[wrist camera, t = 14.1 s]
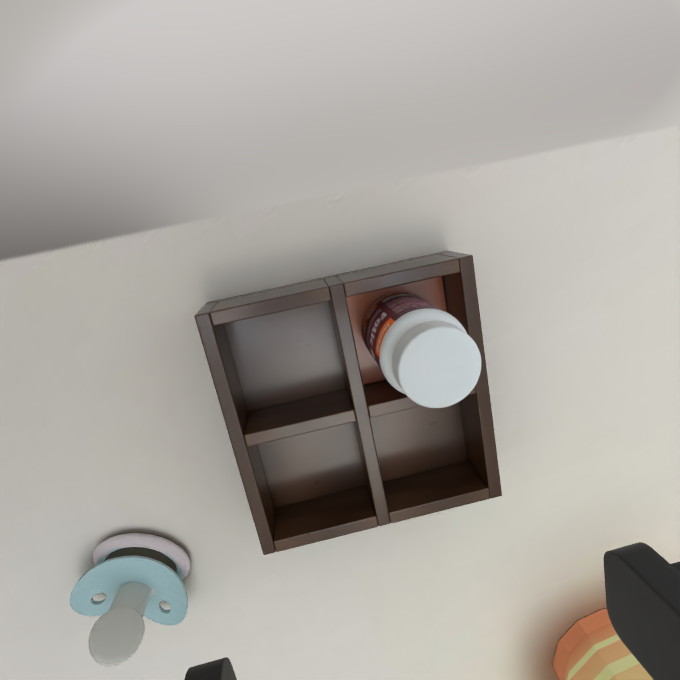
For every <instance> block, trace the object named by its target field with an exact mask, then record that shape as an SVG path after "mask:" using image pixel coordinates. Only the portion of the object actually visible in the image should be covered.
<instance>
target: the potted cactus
mask: <svg viewBox="0 0 680 680" xmlns="http://www.w3.org/2000/svg"><path fill="white" fill-rule="evenodd" d="M553 666H554V669H555V671H556V674H557V676H558V679H559V680H653V679H652V677H651V676H650V675H649V674H648V672H647V671H646V670H645V669H644V668H643V666H642V665H641V664H640V663H639V662H638V660H637V659H636V658H635V657H634V656H633V654H632V653H631V652H630V651H629V649H628V648H627V647H626V646H625V645H624V643H623V642H622V641H621V639H620V638H619V636H618V635H617V633H616V631H615V630H614V628H613V626H612V623H611V621H610V618H609V615H608V612H607V609H602V610H599V611H597V612H595V613H593V614H591V615H589V616H586V617H584V618H582V619H580V620H578V621H576V623H575V624H574V625H573V626H572V627H571V628H570V629H569V630H568V631H567V632H566V634H565V635H564V636H563V637H562V638H561V639H560V640H559V641H558V645H557V649H556V653H555V657H554V660H553Z"/></svg>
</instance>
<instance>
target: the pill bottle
mask: <svg viewBox="0 0 680 680" xmlns="http://www.w3.org/2000/svg"><path fill="white" fill-rule="evenodd" d="M362 335H363V340H364V343H365V345H366V347H367V349H368V351H369V352H370V354H371V355H372V357H373V358H374V360H375V362H376V364H377V365H378V367H379V368H380V370H381V372H382V373H383V375H384V377H385V378H386V380H387V381H388V382H389V383H390V384H391V386H393V387H394V388H395V389H396V390H398V391H400V392H402V393H404V394H406V395H407V396H408V397H409V398H410V399H411V400H412V401H414V402H415V403H417V404H419V405H422V406H425V407H429V408H443V407H448V406H451V405H453V404H456V403H457V402H459V401H461V400H462V399H464V398H465V397H466V396H467V395H468V394H469V393H470V392H471V391H472V390H473V388H474V387H475V385H476V383H477V381H478V379H479V376H480V372H481V355H480V352H479V349H478V347H477V345H476V343H475V342H474V340H473V339H472V338H471V337H470V336H469V335H468V334H467V332H466V330H465V329H464V327H463V326H462V324H461V323H460V322H459V321H458V320H457V319H456V318H455V317H453V316H452V315H451V314H449V313H447V312H445V311H443V310H441V309H440V308H438V307H437V306H435V305H433V304H431V303H429V302H428V301H426V300H424V299H423V298H421V297H419V296H417V295H414V294H411V293H408V292H395V293H390V294H387V295H385V296H383V297H381V298H379V299H378V300H377V301H376V302H375V303H373V305H372V306H371V307H370V308H369V309H368V311H367V313H366V315H365V317H364V320H363V325H362Z"/></svg>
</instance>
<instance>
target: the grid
mask: <svg viewBox="0 0 680 680" xmlns="http://www.w3.org/2000/svg"><path fill="white" fill-rule="evenodd" d="M395 292H408V293H411V294H414V295H417V296H419V297H421V298H423V299H424V300H426V301H428V302H429V303H431V304H433V305H435V306H437V307H438V308H440V309H441V310H443V311H445V312H447V313H449V314H451V315H452V316H453V317H455V318H456V319H457V320H458V321H459V322H460V323H461V324H462V326H463V327H464V329H465V330H466V332H467V334H468V335H469V336H470V337H471V338H472V339H473V340H474V342H475V343H476V345H477V347H478V349H479V352H480V355H481V372H480V376H479V379H478V381H477V383H476V385H475V387H474V388H473V390H472V391H471V392H470V393H469V394H468V395H467V396H466V397H465V398H464V399H462V400H461V401H459V402H457V403H456V404H453V405H451V406H448V407H443V408H429V407H425V406H422V405H419V404H417V403H415V402H414V401H412V400H411V399H410V398H409V397H408V396H407V395H406V394H404V393H402V392H400V391H398V390H396V389H395V388H394V387H393V386H391V384H390V383H389V382H388V381H387V380H386V378H385V377H384V375H383V373H382V372H381V370H380V368H379V367H378V365H377V364H376V362H375V360H374V358H373V357H372V355H371V354H370V352H369V351H368V349H367V347H366V345H365V343H364V340H363V335H362V325H363V320H364V317H365V315H366V313H367V311H368V309H369V308H370V307H371V306H372V305H373V303H375V302H376V301H377V300H378V299H379V298H381V297H383V296H385V295H387V294H390V293H395ZM195 320H196V323H197V327H198V330H199V333H200V337H201V340H202V344H203V347H204V351H205V354H206V358H207V361H208V365H209V368H210V371H211V375H212V378H213V382H214V385H215V389H216V392H217V396H218V399H219V402H220V406H221V409H222V413H223V416H224V420H225V423H226V427H227V430H228V434H229V437H230V440H231V444H232V447H233V451H234V454H235V458H236V461H237V465H238V468H239V472H240V475H241V478H242V482H243V485H244V489H245V492H246V496H247V499H248V503H249V506H250V510H251V513H252V516H253V520H254V523H255V527H256V530H257V534H258V537H259V541H260V544H261V548H262V551H263V554H264V555H266V554H270V553H274V552H279V551H283V550H287V549H291V548H295V547H299V546H303V545H307V544H311V543H315V542H318V541H322V540H326V539H330V538H334V537H338V536H342V535H346V534H350V533H354V532H358V531H362V530H366V529H370V528H374V527H378V526H382V525H386V524H390V522H391V523H394V522H398V521H402V520H406V519H410V518H414V517H418V516H422V515H426V514H430V513H434V512H438V511H442V510H446V509H450V508H454V507H458V506H462V505H466V504H470V503H474V502H478V501H482V500H486V499H490V498H494V497H498V496H502V493H501V484H500V476H499V468H498V460H497V452H496V443H495V435H494V427H493V419H492V411H491V403H490V394H489V386H488V378H487V370H486V362H485V354H484V345H483V337H482V329H481V321H480V313H479V304H478V296H477V288H476V280H475V272H474V264H473V256H472V255H468V254H462V253H456V252H451V251H444V252H440V253H435V254H430V255H426V256H421V257H416V258H412V259H407V260H402V261H398V262H393V263H389V264H384V265H379V266H375V267H370V268H365V269H361V270H356V271H351V272H347V273H342V274H338V275H333V276H328V277H324V278H319V279H314V280H310V281H305V282H300V283H296V284H291V285H287V286H282V287H277V288H273V289H268V290H263V291H259V292H254V293H249V294H245V295H240V296H236V297H231V298H226V299H222V300H217V301H212V302H208V303H206V304H205V306H204V307H203V308H202V309H201V310H200V311H199V312H198V313H197V314H196V315H195Z"/></svg>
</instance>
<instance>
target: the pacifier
mask: <svg viewBox="0 0 680 680" xmlns="http://www.w3.org/2000/svg"><path fill="white" fill-rule="evenodd" d="M126 547H144V548H149V549H153V550H156V551H159V552H161V553H163V554H165V555H166V556H168V557H169V558H170V559H171V560H172V561H173V562H174V563H175V565H176V567H177V569H176V571H173V570H172V569H171V568H170V567H169V566H167V565H166V564H164V563H162V562H160V561H158V560H155V559H152V558H149V557H144V556H121V557H116V558H112V559H109V560H108V555H109V554H110V553H111V552H113V551H115V550H118V549H122V548H126ZM93 563H94V565H95V566H94V567H92V568H91V569H89V570H88V571H87V572H86V573H85V574H84V575H83V576H82V577H81V578H80V580H79V581H78V582H77V584H76V585H75V587H74V589H73V591H72V593H71V597H70V605H71V607H72V609H73V610H74V611H75V612H77V613H79V614H82V615H87V616H100V615H102V616H101V617H100V618H99V619H98V620H97V621H96V623H95V624H94V626H93V628H92V630H91V632H90V636H89V650H90V654H91V656H92V658H93V659H94V660H95V661H96V662H97V663H99V664H101V665H103V666H115V665H118V664H121V663H123V662H124V661H126V660H127V659H129V658H130V657H131V656H132V655H133V654H134V653H135V651H136V650H137V649H138V647H139V645H140V643H141V641H142V638H143V635H144V628H145V626H144V620H143V618H142V617H143V616H145V617H147V618H148V619H150V620H152V621H154V622H157V623H160V624H163V625H175V624H178V623H180V622H182V620H183V619H184V618H185V615H186V612H187V608H188V598H187V593H186V589H185V586H184V584H183V582H182V580H183V579H184V578H185V577H186V576H187V575H188V573H189V571H190V560H189V558H188V555H187V553H186V552H185V551H184V550H183V549H182V548H181V547H180V546H178V545H176V544H175V543H173V542H172V541H169V540H167V539H165V538H162V537H159V536H155V535H150V534H141V533H129V534H121V535H117V536H113V537H111V538H109V539H107V540H105V541H103V542H101V543H100V544H99V545H98V546H97V547H96V548H95V551H94V553H93ZM98 593H104V594H106V598H105V599H104V600H102V601H94V600H93V599H92V597H93V596H94V595H96V594H98ZM161 601H166V602H168V603H169V605H170V607H171V609H170V610H164V609H163V608H162V607H161V605H160V602H161Z"/></svg>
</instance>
